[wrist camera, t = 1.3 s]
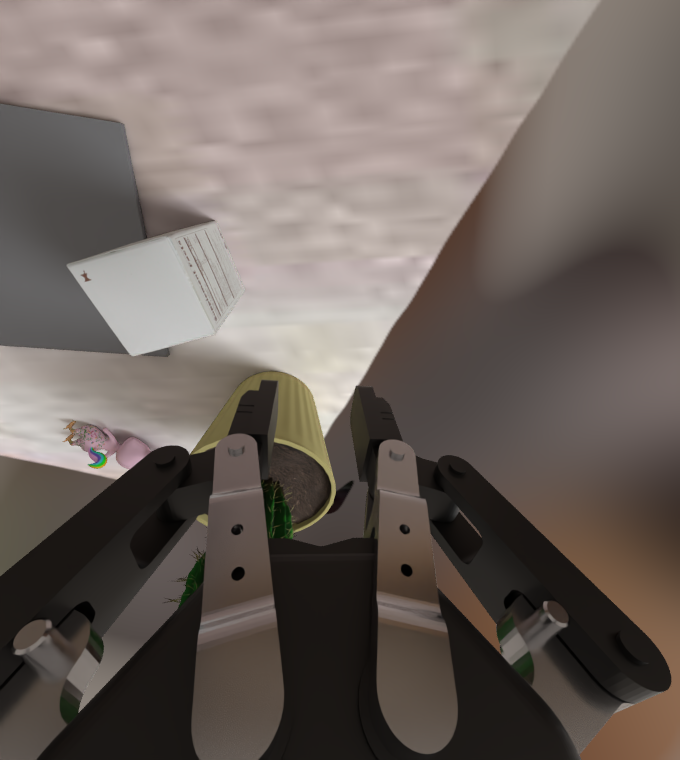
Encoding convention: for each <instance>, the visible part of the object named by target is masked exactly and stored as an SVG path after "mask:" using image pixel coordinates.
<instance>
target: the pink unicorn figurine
mask: <svg viewBox="0 0 680 760" xmlns="http://www.w3.org/2000/svg"><path fill="white" fill-rule="evenodd" d="M73 422H74V420H73ZM73 422H71V423H70V424H69V425H68V426H67V427H66V428H64V429H67V428H69V429H70V431H71V432H72V434H71V435H70V436H69V437H68V438H66V440H65V441H67V440H68V441H69V443H70V445H77V446H80V447H81V448H82V449H83V450H84V451H86V452H88V453H89V456H90V458H91V459H92V460H93V461H95V463H93V464H88V465H89V466H90V467H92V468H96V469H98V468H102V467H103V466H105V464H106V463H107V458H108V457H110V456H111V455H113V454H114V453H115V452H117V453H116V460H117V462H118V463H119V464H120V465H121V466H123V467H125V468H127V469H131V468H132V467H133V466H134V465H136V464H137V463H138V462H139V461H140V460H142V459H143V458H144V457H145V456H146V455H148V454H149V453H150V452H151V451H150V450H149V448H148V446H147V445H146V444H144V443H143V442H141V441H140V440H138V439H137V438H135V437H130V438H128V439H127V440H126V441H125V442H124V443H123V444H119V443H118V442H117V440H116V439H115V437H114V436H113V435H112V433H111V432H110V431H109V430H108V429H107V428H103V432H104V433H106V434H107V435H108V436H109V437H106V436H105V435H104V434H103V433H102V432H101V431H100V430H99V429H98V428H97V427H95V426H93V425H86V426H83V427H81V428H78V429H72V426H73V424H74V423H76V421H75V422H74V423H73ZM73 433H76V434H78V435H79V436H80V438H79V439H77V440H75V441H71V439H72V438H73V436H74V435H75V434H74V435H73ZM65 441H62V442H65ZM100 449H105V450H107V451H108V452H107V454H105V455H104V454H103V453H100V452H96V451H97V450H100Z"/></svg>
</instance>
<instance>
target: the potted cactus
mask: <svg viewBox="0 0 680 760" xmlns="http://www.w3.org/2000/svg"><path fill="white" fill-rule="evenodd" d="M261 380H277V381H278V384H279V386H278V418H277V425H276V432H275V438H274V444H273V451H272V457H271V463H270V470H269V476H268V479H261V487H262V490H263V499H264V509H265V519H266V528H267V538H289V539H292V537H293V533H294V532H297V531H300V530H302V529H304V528H306V527H309V526H311V525H312V524H314V523H315V522H317V521H318V520H319V519H320V518H322V517H323V516H324V515H325V514H326V513H327V511H328V510H329V508H330V507H331V505H332V503H333V501H334V497H335V493H336V490H335V481H334V478H333V473H332V469H331V465H330V461H329V458H328V453H327V450H326V446H325V442H324V438H323V434H322V430H321V426H320V422H319V418H318V414H317V410H316V406H315V402H314V399H313V395H312V394H311V392H310V390H309V389H308V387H307V386H306V385H305V384H304V383H303V382H302V381H300V380H299V379H297V378H295V377H293V376H291V375H289V374H286V373H282V372H262V373H258V374H255V375H253V376H251V377H249V378H247V379H246V380H244V381H243V382H242V383H241V384H240V386H238V387H237V389H236V390H235V392H234V393H233V394H232V396H231V397H230V399H229V400H228V402H227V403H226V404H225V406H224V407H223V409H222V410H221V412H220V413H219V414H218V416H217V417H216V419H215V420H214V421H213V423H212V424H211V426H210V427H209V428H208V430H207V431H206V433H205V434H204V435H203V437H202V438H201V440H200V441H199V442H198V444H197V445H196V447H195V448H194V449H193V451H192V452H191V454H190V455H192V454H197V453H201V452H206V451H209V450H212V449H214V448H216V445H217V444H218V442H219V441H220V440H221V439H223V438H224V437H226V436H227V435H228V432H229V430H230V427H231V424H232V421H233V418H234V415H235V413H236V410H237V407H238V404H239V401H240V398H241V396H242V395H243V394H245V393H246V392H247V391H248V390H259V387H260V383H261ZM196 520H198V521H199V522H201V523H203V524H204V525H206V526H208V513H206V514H203V515H199V516H198V517H197V518H196ZM198 552H199V551H198ZM199 553H200V552H199ZM200 554H201V553H200ZM195 555H196V557H197V560H198V561H196V564H195V566H194V568H193V569H192V570H191V572H190V573H189V575H188V578H187V579H185V580H183V581H186V585H185V586H186V590H185V592H184V593H183V595H182V597H181V599H180V600H181V602H180V605H179V607H180V606H181V605H182V604H183V603H184V602H185V601H186V600H187V599H188V598H189V597H190V596H191V595H192V594H193V593H194V592H195V591H196V589H197V588H198V587H199V586H200V585H201V584H202V583H203V582H204V571H205V556H206V552H205V553H204V555H202V554H201V555H202V557H201V558H200V555H199V556H198V555H197V554H195ZM198 557H199V558H200V559H198ZM194 558H195V557H194ZM180 579H182V578H180ZM169 600H171V599H169ZM172 601H174V602H177V600H172ZM172 601H170V602H172ZM179 607H178V608H179Z"/></svg>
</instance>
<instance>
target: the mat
mask: <svg viewBox="0 0 680 760" xmlns="http://www.w3.org/2000/svg"><path fill="white" fill-rule="evenodd" d="M145 239H147V238H146V233H145V228H144V223H143V218H142V213H141V208H140V203H139V198H138V193H137V188H136V183H135V177H134V172H133V167H132V162H131V157H130V152H129V147H128V142H127V137H126V132H125V127H124V124H122V123H117V122H111V121H105V120H99V119H92V118H86V117H80V116H74V115H68V114H61V113H55V112H49V111H43V110H37V109H31V108H24V107H18V106H12V105H6V104H0V345H2V346H17V347H31V348H46V349H60V350H75V351H90V352H104V353H119V354H129V353H128V351H127V350H126V349H125V347H124V346H123V345H122V343H121V342H120V341H119V339H118V338H117V336H116V335H115V333H114V332H113V331H112V329H111V328H110V327H109V325H108V324H107V322H106V321H105V320H104V318H103V317H102V315H101V314H100V313H99V311H98V310H97V308H96V307H95V306H94V304H93V303H92V301H91V300H90V299H89V297H88V296H87V294H86V293H85V292H84V290H83V289H82V287H81V286H80V285H79V283H78V282H77V280H76V279H75V277H74V276H73V274H72V273H71V272H70V270H69V269H68V268H67V264H69V263H72V262H75V261H78V260H82V259H85V258H88V257H91V256H94V255H97V254H100V253H103V252H106V251H110V250H113V249H116V248H119V247H122V246H125V245H128V244H131V243H135V242H138V241H141V240H145ZM141 355H148V356H162V357H168V356H169V355H170V354H169V349H168V347H167V348H164V349H160V350H156V351H153V352H149V353H145V354H141Z"/></svg>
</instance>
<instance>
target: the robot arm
mask: <svg viewBox="0 0 680 760" xmlns="http://www.w3.org/2000/svg"><path fill="white" fill-rule="evenodd" d="M278 386H279V384H278V381H277V380H261V383H260V387H259V390H248V391H247V392H246V393H245V394H243V395H242V396H241V398H240V401H239V404H238V407H237V410H236V413H235V415H234V418H233V421H232V424H231V427H230V430H229V432H228V435H227V436H226V437H224V438H223V439H221V440H220V441H219V442H218V444H217V445H216V448H214V449H212V450H209V451H206V452H201V453H197V454H192V455H189V453H188V451H187V450H186V449H185V448H183V447H180V446H165V447H161V448H158V449H156V450H154V451H152V452H150V453H149V454H148V455H146V456H145V457H144V458H143V459H142V460H140V461H139V462H138V463H137V464H136V465H134V466H133V467H132V468H131V469H130V470H128V471H127V472H126V473H125V474H123V475H122V476H121V477H120V478H119V479H117V480H116V481H115V482H114V483H113V484H111V486H109V487H108V488H107V489H105V490H104V491H103V492H102V493H101V494H99V495H98V496H97V497H96V498H94V499H93V500H92V501H91V502H90V503H88V504H87V505H86V506H85V507H84V508H82V509H81V510H80V511H79V512H78V513H76V514H75V515H74V516H73V517H72V518H70V519H69V520H68V521H67V522H66V523H64V524H63V525H62V526H61V527H59V528H58V529H57V530H56V531H55V532H54V533H52V534H51V535H50V536H48V537H47V538H46V539H45V540H44V541H42V542H41V543H40V544H39V545H38V546H37V547H35V548H34V549H33V550H32V551H30V552H29V553H28V554H27V555H26V556H24V557H23V558H22V559H21V560H19V561H18V562H17V563H16V564H15V565H14V566H12V567H11V568H10V569H9V570H7V571H6V572H5V573H4V574H3V575H2V576H0V760H581V758H580V756H579V755H580V753H581V752H582V751H583V750H584V748H585V747H586V746H587V745H588V744H589V742H590V741H591V740H592V739H593V738H594V737H595V735H596V734H597V733H598V732H599V731H600V729H601V728H602V727H603V726H604V724H605V723H606V722H607V721H608V719H609V718H610V717H611V716H612V715H613V714H614V713H616V712H618V711H621V710H623V709H625V708H627V707H630V706H632V705H634V704H637V703H639V702H641V701H643V700H646V699H648V698H650V697H652V696H655V695H657V694H660V693H662V692H664V691H666V690H668V689H669V687H670V685H671V674H670V670H669V667H668V665H667V663H666V661H665V659H664V657H663V655H662V654H661V652H660V651H659V649H658V648H657V647H656V645H655V644H654V643H653V642H652V641H651V639H650V638H649V637H648V636H647V635H646V634H645V633H644V632H643V631H642V630H640V628H639V627H638V626H637V625H636V624H634V623H633V622H632V621H631V620H630V619H629V618H628V617H627V616H626V615H625V614H624V613H623V612H622V611H621V610H620V609H619V608H618V607H617V606H616V605H615V604H614V603H613V602H612V601H611V600H610V599H609V598H607V596H606V595H605V594H604V593H602V592H601V591H600V590H599V589H598V588H597V587H596V586H595V585H594V584H593V583H592V582H591V581H590V580H589V579H588V578H587V577H586V576H585V575H584V574H583V573H582V572H581V571H580V570H579V569H578V568H577V567H576V566H575V565H574V564H573V563H571V562H570V561H569V560H568V559H567V558H566V557H565V556H564V555H563V554H562V553H561V552H560V551H559V550H558V549H557V548H556V547H555V546H554V545H553V544H552V543H551V542H550V541H549V540H548V539H547V538H546V537H545V536H544V535H543V534H541V532H539V531H538V530H537V529H536V528H535V527H534V526H533V525H532V524H531V523H530V522H529V521H528V520H527V519H526V518H525V517H524V516H523V515H522V514H521V513H520V512H519V511H518V510H517V509H516V508H515V507H514V506H513V505H512V504H511V503H510V502H508V501H507V500H506V499H505V498H504V497H503V496H502V495H501V494H500V493H499V492H498V491H497V490H496V489H495V488H494V487H493V486H492V485H491V484H490V483H489V482H488V481H487V480H486V479H484V477H483V476H482V475H481V474H480V473H479V472H478V471H476V470H475V469H474V468H473V467H472V466H471V465H470V464H469V463H468V462H467V461H465V460H463V459H461V458H459V457H456V456H452V455H446V456H443V457H441V458H440V459H439V460H438V463H436V462H433V461H429V460H425V459H422V458H420V457H417V456H416V455H415V453H414V451H413V449H412V448H411V447H410V446H409V445H408V444H406V443H404V442H403V440H402V438H401V435H400V432H399V429H398V426H397V424H396V421H395V418H394V415H393V414H392V410H391V407H390V405H389V404H388V403H387V402H386V401H385V400H384V399H383V398H377V397H376V396H375V393H374V390H373V387H370V386H356V388H355V392H354V398H353V403H352V409H351V417H350V424H351V431H352V437H353V443H354V450H355V456H356V462H357V468H358V474H359V480H360V482H368V487H369V488H368V492H367V496H366V497H367V498H366V509H365V521H364V534H363V538H351V539H348V540H344V541H340V542H337V543H333V544H330V545H326V546H316V545H312V544H308V543H304V542H300V541H297V540H293V539H289V538H267V528H266V519H265V509H264V499H263V490H262V487H261V479H268V476H269V470H270V463H271V457H272V451H273V444H274V438H275V432H276V425H277V418H278ZM459 510H461V511H462V512H463V513H464V515H465V516H466V517H467V518H468V519H469V520H470V521H471V523H472V524H473V525H474V526H475V527H476V528H477V530H478V531H479V532H480V534H481V536H482V538H481V537H480V536H479V535H478V533H477V532H476V531H475V530H474V529H473V527H472V526H471V525H470V524H469V523H468V522H467V520H466V519H465V518H464V517H463V516H462V515H461V513H460V512H459ZM206 513H208V526H207V541H206V556H205V571H204V582H203V583H202V584H201V585H200V586H199V587H198V588H197V589H196V591H195V592H194V593H193V594H192V595H191V596H190V597H189V598H188V599H187V600H186V601H185V602H184V603H183V604H182V605H181V606H180V607H179V608H178V609H177V610H176V611H175V613H174V614H173V615H172V616H171V617H170V618H169V619H168V620H167V621H166V622H165V623H164V624H163V625H162V626H161V627H160V628H159V629H158V631H156V632H155V634H154V635H153V636H152V637H151V638H150V639H149V640H148V641H147V642H146V643H145V644H144V645H143V646H142V647H141V648H140V649H139V650H138V651H137V652H136V653H135V655H134V656H133V657H132V658H131V659H130V660H129V661H128V662H127V663H126V664H125V665H124V666H123V667H122V668H121V669H120V670H119V671H118V672H117V674H115V676H114V677H113V678H112V679H111V680H110V681H109V682H108V683H107V684H106V685H105V686H104V687H103V688H102V689H101V690H100V691H99V693H97V694H96V695H95V697H94V698H93V699H92V700H91V701H90V702H89V703H88V704H87V705H86V706H85V707H84V708H83V709H82V710H81V711H80V712H79V713H78V711H79V707H80V702H81V699H82V697H83V694H84V692H85V690H86V688H87V686H88V684H89V683H90V681H91V679H92V678H93V676H94V675H95V673H96V671H97V669H98V667H99V665H100V663H101V660H102V657H103V652H104V651H103V650H104V645H103V640H102V637H103V635H104V634H105V633H106V632H107V630H108V629H109V628H110V626H111V625H112V624H113V623H114V622H115V620H116V619H117V618H118V616H119V615H120V614H121V613H122V611H123V610H124V609H125V608H126V606H127V605H128V604H129V603H130V601H131V600H132V599H133V597H134V596H135V595H136V594H137V592H138V591H139V590H140V589H141V588H142V586H143V585H144V584H145V583H146V581H147V580H148V579H149V578H150V576H151V575H152V574H153V573H154V571H155V570H156V569H157V568H158V566H159V565H160V564H161V562H162V561H163V560H164V559H165V557H166V556H167V555H168V554H169V553H170V551H171V550H172V549H173V547H174V546H175V545H176V544H177V542H178V541H179V540H180V539H181V537H182V536H183V535H184V533H185V532H186V531H187V530H188V529H189V527H190V526H191V525H192V523H193V522H194V521H195V520H196V518H197V517H198V516H199V515H203V514H206ZM431 535H432V536H433V537H434V539H435V540H436V542H437V543H438V544H439V546H440V547H441V549H442V550H443V551H444V553H445V554H446V555H447V557H448V558H449V560H450V561H451V562H452V564H453V565H454V566H455V568H456V569H457V570H458V572H459V573H460V575H461V576H462V577H463V579H464V580H465V582H466V583H467V584H468V586H469V587H470V588H471V590H472V591H473V593H474V594H475V595H476V597H477V598H478V600H479V601H480V602H481V604H482V605H483V606H484V608H485V609H486V610H487V612H488V613H489V615H490V616H491V617H492V619H493V620H494V621H495V623H496V624H497V625H496V630H497V636H498V640H499V643H500V650H501V654H502V655H501V654H500V653H499V652H498V651H497V650H496V649H495V648H494V647H493V646H492V645H491V644H490V643H489V641H488V640H486V638H485V637H484V636H483V635H482V634H481V633H480V632H479V631H478V630H477V629H476V628H475V627H474V626H473V625H472V624H471V622H470V621H469V620H468V619H467V618H466V617H465V616H464V615H463V614H462V613H461V612H460V611H459V610H458V609H457V608H456V607H455V605H454V604H453V603H452V602H451V601H450V600H449V599H448V598H447V597H446V596H445V595H444V594H443V593H442V592H441V591H440V590H439V589H438V587H437V581H436V574H435V565H434V558H433V549H432V541H431Z"/></svg>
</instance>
